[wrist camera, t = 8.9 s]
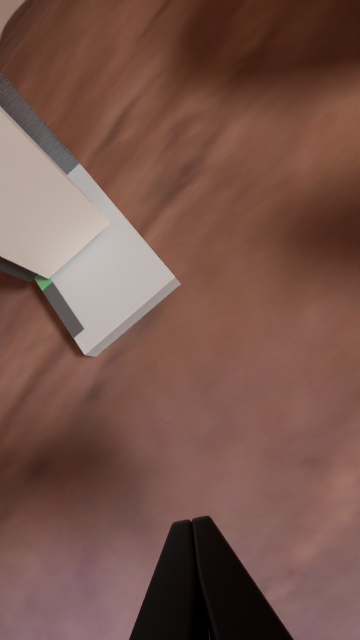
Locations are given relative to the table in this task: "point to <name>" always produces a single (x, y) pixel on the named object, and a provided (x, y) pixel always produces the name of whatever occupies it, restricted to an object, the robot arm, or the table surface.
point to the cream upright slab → (39, 208)
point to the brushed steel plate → (34, 126)
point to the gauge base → (106, 278)
